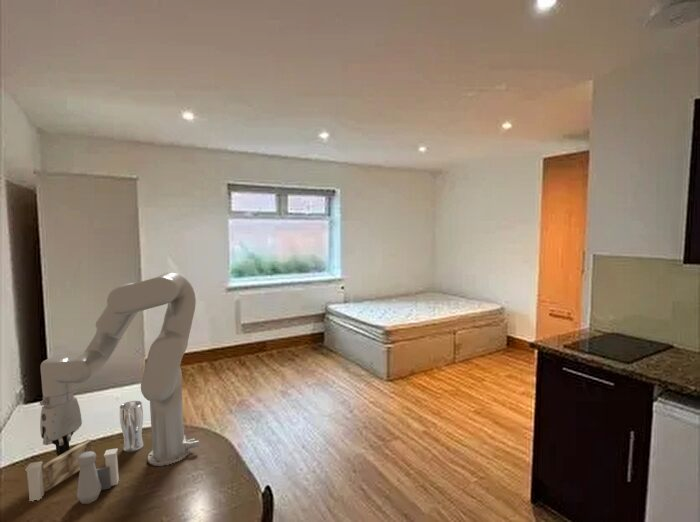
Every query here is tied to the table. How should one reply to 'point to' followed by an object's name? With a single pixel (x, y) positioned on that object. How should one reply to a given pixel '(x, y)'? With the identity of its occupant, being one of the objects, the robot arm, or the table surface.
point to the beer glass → (132, 425)
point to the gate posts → (106, 474)
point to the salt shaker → (88, 478)
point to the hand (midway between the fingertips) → (63, 455)
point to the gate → (63, 465)
